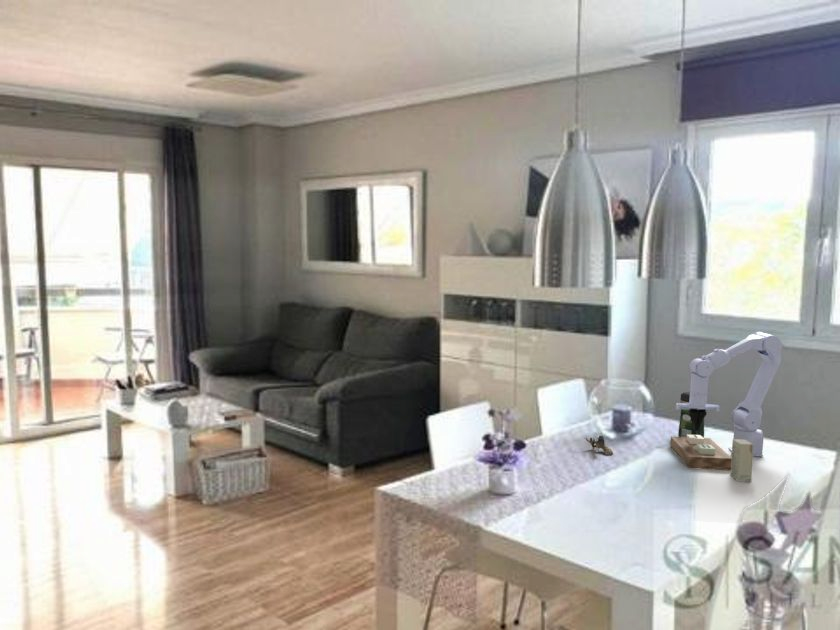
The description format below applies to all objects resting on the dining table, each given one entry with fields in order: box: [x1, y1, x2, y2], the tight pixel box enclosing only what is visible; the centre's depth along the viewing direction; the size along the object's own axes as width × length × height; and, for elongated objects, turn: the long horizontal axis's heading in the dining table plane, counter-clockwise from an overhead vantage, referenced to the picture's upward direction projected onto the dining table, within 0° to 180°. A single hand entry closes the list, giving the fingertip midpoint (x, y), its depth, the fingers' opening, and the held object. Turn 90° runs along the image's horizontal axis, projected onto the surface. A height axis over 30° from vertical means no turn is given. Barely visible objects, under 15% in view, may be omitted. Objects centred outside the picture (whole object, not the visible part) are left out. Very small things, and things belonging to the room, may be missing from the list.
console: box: [669, 436, 732, 471], centre depth 247 cm, size 14×24×4 cm, turn 175°
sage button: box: [696, 444, 715, 455], centre depth 241 cm, size 5×5×4 cm
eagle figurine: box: [585, 435, 614, 457], centre depth 252 cm, size 8×7×9 cm
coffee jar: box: [677, 391, 705, 438], centre depth 271 cm, size 10×8×19 cm
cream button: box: [686, 434, 705, 444], centre depth 253 cm, size 5×5×4 cm
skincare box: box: [730, 438, 754, 483], centre depth 227 cm, size 6×4×12 cm
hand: (695, 429), depth 253 cm, fingers closed
